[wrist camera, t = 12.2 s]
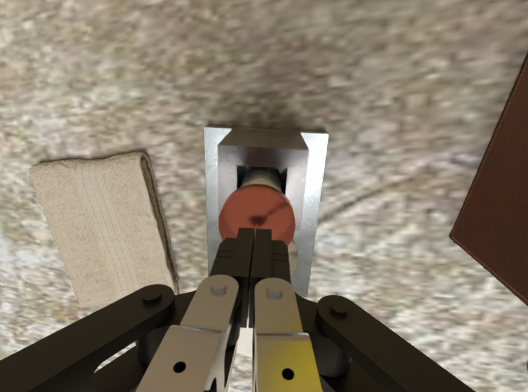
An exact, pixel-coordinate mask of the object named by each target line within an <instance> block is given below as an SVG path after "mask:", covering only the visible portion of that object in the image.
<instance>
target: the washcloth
mask: <svg viewBox="0 0 528 392" xmlns="http://www.w3.org/2000/svg"><path fill="white" fill-rule="evenodd" d="M29 177H30V179H31V181H32V182H33V186H34V190H35V191H36V195H37V196H38V200H39V203H40V204H41V205H42V207H43V209H44V211H43V213H44V214H45V216H46V219H47V221H48V224H49V228H50V231H51V233H52V235H53V236H52V237H53V239H54V240H53V241H54V242H55V243H56V245H57V248H58V252H59V253H60V256H61V260H62V261H63V263H64V266H65V267H66V268H67V272H68V276H69V277H70V279H71V282H72V286H73V290H74V291H75V295H76V296H77V300H78V302H79V303H80V304H81V305H82V306H84V307H90V308H91V309H94V310H100V309H102V308H104V307H105V306H107V305H109V304H111V303H113V302H115V301H117V300H119V299H121V298H123V297H125V296H127V295H129V294H131V293H133V292H135V291H137V290H139V289H140V288H143V287H145V286H148V285H152V284H163V285H167V286H169V287H171V288H172V289H173V291H174V295H178V290H177V287H178V286H177V282H178V279H177V277H176V275H177V273H176V265H175V261H174V256H173V251H172V248H171V244H170V239H169V235H168V230H167V226H166V222H165V218H164V214H163V210H162V207H161V203H160V200H159V194H158V191H157V185H156V181H155V177H154V173H153V169H152V165H151V163H150V160H149V158H148V156H147V155H146V154H145V153H143V152H141V153H137V152H132V153H127V154H120V155H116V156H112V157H108V158H106V159H101V160H100V159H97V160H87V161H86V160H82V159H70V160H60V161H54V162H43V163H37V164H35V165H33V166H32V167H31V169H30V176H29Z"/></svg>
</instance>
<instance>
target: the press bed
mask: <svg viewBox="0 0 528 392" xmlns="http://www.w3.org/2000/svg"><path fill="white" fill-rule="evenodd" d="M328 136H329V134H328V133H327V132H326V131H310V130H292V129H274V128H256V127H238V126H220V125H207V126H205V127H204V140H205V175H206V210H207V245H208V277H209V275H210V272H211V269H212V266H213V263H214V260H215V257H216V254H217V252H218V248H219V245H220V243H221V242H222V241H223V240H222V238H221V235H220V233H219V228H218V220H219V215H220V212H221V210H222V207H223V205H224V203H225V201H226V199H227V198H228V197H229V195H230V194H231V193H232V192H234V191H235V190H236V189H238V188H240V187H241V185H242V182H243V179H244V176H245V173H246V170H247V169H248V167H249V166H259V167H276V168H278V170H279V172H280V176H281V190H282V193H283V194H284V195H285V196H286V197H287V198H288V199H289V201H290V203H291V205H292V207H293V211H294V217H295V233H294V236H293V239H292V241H291V242H290V244H289V245H288V253H289V264H290V276H291V285H292V286H293V288H294V291H295V292H296V293H297V294H298V295H299V296H301V297H307V294H308V286H309V279H310V271H311V264H312V256H313V249H314V241H315V234H316V226H317V219H318V211H319V204H320V196H321V189H322V181H323V174H324V166H325V159H326V151H327V144H328Z"/></svg>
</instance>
